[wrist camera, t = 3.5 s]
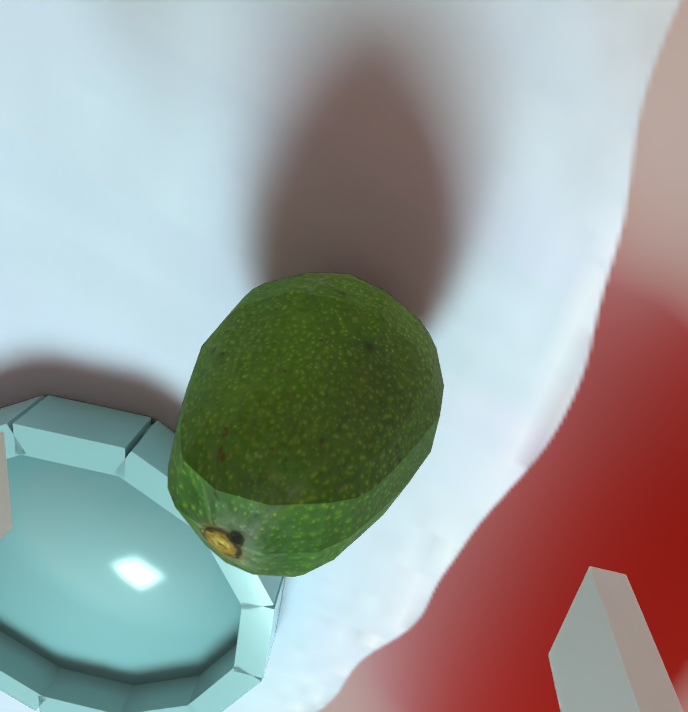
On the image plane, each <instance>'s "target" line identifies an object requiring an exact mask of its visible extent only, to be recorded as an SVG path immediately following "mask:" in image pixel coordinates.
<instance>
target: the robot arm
mask: <svg viewBox="0 0 688 712" xmlns="http://www.w3.org/2000/svg"><path fill="white" fill-rule="evenodd" d="M12 527H13V522H12V512H11V501H10V491H9V480H8V470H7V459H6V449H5V438H4V432H2V431H0V539H1V538H2V537H3V536H4V535H5V534H6V533H7V532H8V531H9V530H10V529H11V528H12ZM548 655H549V660H550V665H551V669H552V674H553V678H554V683H555V688H556V692H557V697H558V702H559V706H560V711H561V712H683V710H682V707H681V705H680V702H679V700H678V698H677V696H676V693H675V691H674V688H673V686H672V683H671V681H670V679H669V676H668V674H667V671H666V669H665V667H664V664H663V662H662V659H661V657H660V655H659V652H658V650H657V648H656V645H655V643H654V641H653V638H652V636H651V633H650V631H649V628H648V626H647V624H646V621H645V619H644V617H643V614H642V612H641V609H640V607H639V605H638V602H637V600H636V597H635V595H634V593H633V590H632V588H631V586H630V583H629V581H628V578H627V576H626V575H625V574H621V573H616V572H612V571H608V570H603V569H599V568H595V567H589V569H588V571H587V573H586V575H585V578H584V580H583V582H582V584H581V586H580V588H579V590H578V593H577V594H576V597H575V599H574V601H573V603H572V605H571V607H570V609H569V612H568V614H567V616H566V618H565V620H564V622H563V624H562V627H561V629H560V631H559V633H558V635H557V637H556V640H555V641H554V643H553V646H552V648H551V650H550V652H549V654H548Z"/></svg>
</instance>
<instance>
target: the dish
mask: <svg viewBox="0 0 688 712" xmlns="http://www.w3.org/2000/svg"><path fill="white" fill-rule="evenodd" d="M0 431H2V432H4V438H5V449H6V459H7V470H8V480H9V491H10V501H11V512H12V522H13V527H12V528H11V529H10V530H9V531H8V532H7V533H6V534H5V535H4V536H3V537H2V538H1V539H0V690H1V691H3V692H5V693H6V694H8V695H10V696H11V697H13V698H15V699H16V700H18V701H20V702H21V703H23V704H25V705H26V706H28V707H30V708H32V709H33V710H36V709H37V708H38V707H39V709H40V712H222V711H224V710H225V709H226V708H227V707H229V706H230V705H231V704H233V703H234V702H235V701H236V700H238V699H239V698H240V697H242V696H243V695H244V694H245V693H247V692H248V691H249V690H251V689H252V688H253V687H254V686H256V685H257V684H258V683H260V682H261V680H262V678H263V677H264V673H265V669H266V666H267V662H268V659H269V655H270V651H271V648H272V644H273V640H274V637H275V632H276V626H277V620H278V614H279V609H280V603H281V597H282V591H283V585H284V579H285V576H268V575H253V574H250V573H248V572H246V571H243V570H241V569H239V568H237V567H234V566H232V565H230V564H227V563H225V562H224V561H223V560H222V559H221V558H219V557H218V556H217V555H216V554H215V553H214V552H212V551H211V550H210V549H209V548H208V547H207V546H206V545H205V544H204V543H203V541H202V540H201V539H200V538H199V536H198V535H197V534H196V533H195V531H194V530H193V529H192V528H191V526H190V525H189V524H188V523H187V522H186V520H185V519H184V518H183V517H182V515H181V514H180V513H179V512H178V510H177V509H176V508H175V506H174V503H173V501H172V498H171V496H170V493H169V491H168V488H167V485H168V464H169V459H170V454H171V450H172V445H173V440H174V436H175V433H174V432H173V431H172V430H170V429H169V428H168V427H166V426H165V425H163V424H162V423H161V422H159V421H158V420H157V421H156V422H155V423H154V424H152V423H151V417H148V416H143V415H139V414H134V413H130V412H125V411H120V410H116V409H111V408H107V407H102V406H97V405H93V404H88V403H83V402H79V401H74V400H70V399H65V398H60V397H56V396H51V395H48V396H47V397H45V398H44V396H43V395H42V396H39V397H35V398H32V399H29V400H26V401H23V402H19V403H16V404H13V405H10V406H7V407H4V408H0Z"/></svg>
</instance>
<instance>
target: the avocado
mask: <svg viewBox="0 0 688 712" xmlns="http://www.w3.org/2000/svg"><path fill="white" fill-rule="evenodd" d="M443 389H444V384H443V379H442V374H441V369H440V364H439V359H438V354H437V349H436V347H435V344H434V342H433V340H432V338H431V336H430V334H429V332H428V331H427V330H426V328H425V327H424V325H423V324H422V322H421V321H420V319H419V318H417V317H416V316H415V315H414V314H413V313H411V312H410V311H409V310H408V309H407V308H405V307H404V306H403V305H402V304H401V303H399V302H398V301H397V300H396V299H395V298H393V297H392V296H391V295H390V294H389V293H387V292H386V291H384V290H382V289H380V288H378V287H376V286H374V285H372V284H370V283H368V282H366V281H364V280H362V279H360V278H357V277H355V276H353V275H351V274H343V273H313V272H310V273H306V274H301V275H297V276H293V277H289V278H285V279H280V280H276V281H272V282H268V283H264V284H262V285H260V286H258V287H256V288H254V289H252V290H251V291H250V292H249V293H248V294H247V295H246V296H245V297H244V298H243V299H242V300H241V301H240V302H239V303H238V305H237V306H236V307H235V308H234V309H233V310H232V311H231V313H230V314H229V315H228V316H227V317H226V318H225V319H224V321H223V322H222V323H221V324H220V325H219V327H218V328H217V329H216V330H215V331H214V332H213V334H212V335H211V336H210V337H209V338H208V339H207V341H206V342H205V343H204V344H203V345H202V347H201V350H200V353H199V355H198V358H197V361H196V364H195V367H194V370H193V372H192V375H191V378H190V381H189V384H188V387H187V390H186V393H185V397H184V400H183V404H182V407H181V411H180V414H179V418H178V422H177V426H176V431H175V436H174V440H173V445H172V450H171V454H170V459H169V464H168V485H167V488H168V491H169V493H170V496H171V498H172V501H173V503H174V506H175V508H176V509H177V510H178V512H179V513H180V514H181V515H182V517H183V518H184V519H185V520H186V522H187V523H188V524H189V525H190V526H191V528H192V529H193V530H194V531H195V533H196V534H197V535H198V536H199V538H200V539H201V540H202V541H203V543H204V544H205V545H206V546H207V547H208V548H209V549H210V550H211V551H212V552H214V553H215V554H216V555H217V556H218V557H219V558H221V559H222V560H223V561H224V562H225V563H227V564H230V565H232V566H234V567H237V568H239V569H241V570H243V571H246V572H248V573H250V574H253V575H268V576H287V577H295V576H300V575H304V574H306V573H308V572H310V571H312V570H314V569H316V568H318V567H320V566H322V565H324V564H326V563H328V562H330V561H332V560H334V559H335V558H336V557H337V556H338V555H339V554H340V553H341V552H342V551H344V550H345V549H346V548H347V547H348V546H349V545H350V544H351V543H353V542H354V541H355V540H356V539H357V538H358V537H359V536H361V535H362V534H363V533H364V532H365V531H366V530H367V529H368V528H369V527H370V526H371V525H373V524H374V523H375V522H376V521H377V520H378V519H379V518H380V517H381V516H382V515H383V514H384V513H385V512H386V511H387V509H388V508H389V507H390V506H391V504H392V503H393V502H394V501H395V499H396V498H397V497H398V495H399V494H400V493H401V492H402V490H403V489H404V488H405V487H406V485H407V484H408V483H409V481H410V480H411V479H412V477H413V476H414V474H415V473H416V472H417V470H418V469H419V467H420V466H421V464H422V463H423V462H424V460H425V459H426V457H427V456H428V455H429V453H430V452H431V448H432V445H433V441H434V437H435V433H436V429H437V425H438V421H439V417H440V411H441V404H442V396H443Z"/></svg>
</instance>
